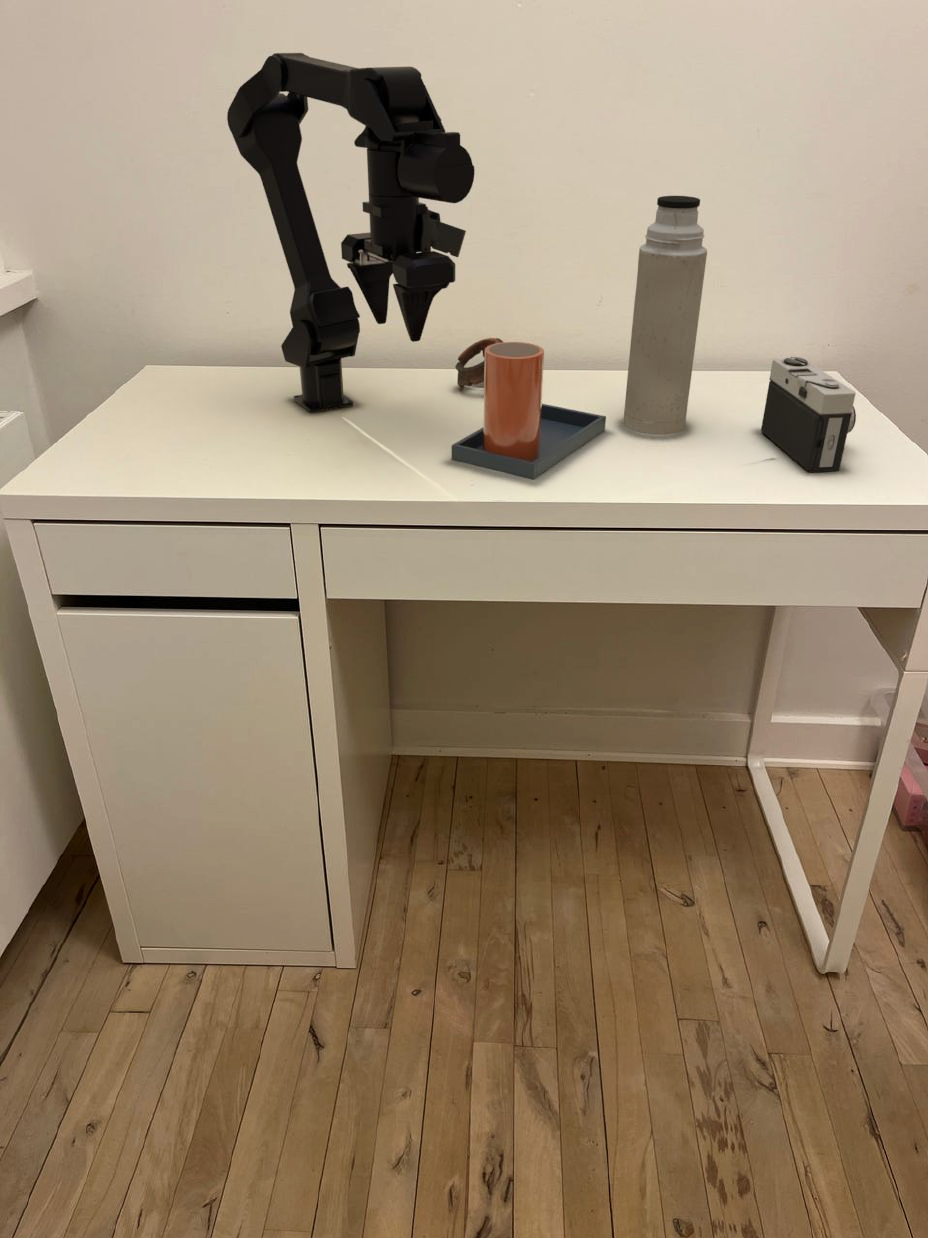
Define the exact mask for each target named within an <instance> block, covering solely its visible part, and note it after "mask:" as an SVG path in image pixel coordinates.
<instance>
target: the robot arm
mask: <svg viewBox="0 0 928 1238" xmlns="http://www.w3.org/2000/svg"><path fill="white" fill-rule="evenodd" d="M284 93H287V94H284ZM308 98H310V99H313V100H316V101H320V102H324V103H327V104H332V105H336V106H339V107H341V108H343V109H345V110H346V112H347V113H348V115H349V117H350V118H352V119H353V120H355V121H357V122H358V123H360V124H362V125H363V126H364V129H363V130H362V132H361V133H360V134H358V135H357V137H356V138H355V140H354V141H353V143H354V147H356V148H364V149H366V163H367V164H366V165H367V166H366V167H367V187H368V201H362V202H361V203H362V212H363V213H366V214H368V215H369V232H360V233H349V234H346V236H345V237H344V238H343V240H342V241H341V243H340V248H341V249H340V251H341V259H342V260H344V261H346V262H347V263H346V266H347V268H348V269H349V270H350V272H351V274H352V276H353V278H354V279H355V282H356V283H357V285H358V287H359V289H360V291H361V293H362V295H363V297H364V298H365V301H366V303H367V305H368V307H369V309H370V311H371V314H372V315H373V318H374V320H375V322H376V324H377V325H384V324H386V323H387V319H388V310H389V295H390V294H389V293H390V279H391V277H392V275H393V278H394V280H395V283H393V284H392V286H393V290H394V293H395V296H396V300H397V303H398V306H399V309H400V312H401V316H402V319H403V323H404V326H405V328H406V331H407V334H408V337H409V340H410V341H411V342H413V343H415V342H420V341H421V339H422V335H423V332H424V328H425V325H426V321H427V318H428V314H429V312H430V308H431V306H432V303H433V300H434V298H435V297H436V296H437V295H438V293H440V292H441V291H442V290H445V289H447V288H448V287H449V285H450V283H455V282H456V263H455V262H454V260H453V259H452V258H451V257H450V256H452V257H455V258H459V257H460V253H461V249H462V247H463V242H464V239H465V236H466V231H467V230H465V229H463V228H460V227H456V226H454V225H450V224H449V223H448V224H447V223H445V222H443V221H441V215H440V213H439V212H436V211H433V210H430V209H429V207H428V206H427V204H426V203H423V202H420V199H423V200H429V201H436V202H442V203H450V204H459V203H460V202H463V200H465V199H466V198H467V196H468V195H469V193H470V192H471V189H472V188H473V184H474V181H475V173H476V172H475V165H474V164H473V161H472V157H471V155H470V153H469V151H468V150H467V149H466V148H465V147H463V146H462V145H461V133H460V132H458V131H446V129H445V126H444V125H443V122H442V119H441V117H440V115H439V114H438V112H437V109H436V107H435V105H434V103H433V100H432V97H431V96H430V94H429V91H428V88H427V86H426V85H425V83H424V81H423V78H422V73H421V72H420V70H418V69H417V68H416V67H415V66H383V67H381V66H380V67H375V66H374V67H356V66H350V65H346V64H342V63H339V62H338V63H337V62H333V61H329V60H325V59H321V58H316V57H311V56H309V55H307V54H305V53H303V52H276V53H273V54H271V55H268V56H267V58H266V59H265V61H264V63H263V65H262V67H261V69H260V70H258V71H257V72H256V73H255V74H254V75H252V77H250V78H249V79H248V80H247V81H245V82H244V83H243V84H241V85H240V87H239V88H238V90H237V91H236V93H235V96H234V98H232V101H231V103H230V105H229V107H228V109H227V114H226V119H227V120H226V121H227V125H228V128H229V131H230V132H231V135H232V137H233V140H234V142H235V145H236V147H237V149H238V152H239V154H240V156H241V158H243V159H244V160H245V161H246V163H248V164H249V165H250V166H251V167H252V168H253V170H254V171H255V172H256V173H257V174H258V175H259V178H260V180H261V183H262V187H263V190H264V193H265V196H266V199H267V203H268V206H269V209H270V213H271V216H272V219H273V222H274V226H275V229H276V232H277V235H278V238H279V242H280V245H281V249H282V252H283V255H284V258H285V261H286V264H287V268H288V271H289V274H290V277H291V280H292V284H293V289H294V290H293V291H294V292H293V295H292V300H291V305H290V309H289V315H290V320H291V325H292V328H291V329H290V331H289V332H288V334H287V335H286V337H285V339H284V340H283V342H282V343H281V346H280V347H281V352H282V354H283V359H284V361H285V362H286V363H289V364H292V365H294V366H297V367H299V375H300V388H301V394H297V395H293V401H295V402H296V403H297V404H299V405H300V406H301V407H303V408H304V409H305V410H306V411H308V412H309V413H315V412H322V411H326V410H333V409H338V408H344V407H349V406H353V405H354V401H353V400H352V399H351V398H349V397H348V396H346V395H345V394H344V377H343V365H342V364H343V363H342V361H343V360H342V359H345V358H349V357H355V355H356V352H357V351H356V350H357V346H358V340H359V336H360V333H361V326H360V320H359V318H361V315H360V312H359V311H358V310H357V307H356V304H355V300H354V295H353V292H352V290H351V289H350V287H349V286H343V287H341V286H340V285H339V284H338V283H337V282H336V281H335V280H334V279H333V278H332V275H331V273H330V269H329V267H328V262H327V260H326V256H325V252H324V249H323V246H322V242H321V239H320V236H319V233H318V229H317V226H316V222H315V219H314V216H313V212H312V209H311V206H310V202H309V200H308V196H307V192H306V188H305V186H304V182H303V179H302V176H301V172H300V169H299V165H298V161H299V156H300V151H301V146H302V142H303V135H302V131H301V126H300V125H301V123H302V122H303V120H304V119H305V117H306V115H307V113H308V112H309V101H308V100H309V99H308ZM437 251H439V252H437ZM440 252H442V253H440ZM443 253H444V254H443ZM446 254H450V256H449V255H446Z"/></svg>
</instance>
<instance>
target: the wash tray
mask: <svg viewBox="0 0 928 1238" xmlns="http://www.w3.org/2000/svg"><path fill="white" fill-rule="evenodd" d="M606 423H607V416H606V415H601V414H596V413H590V412H585V411H581V410H576V409H572V408H571V409H570V408H566V407H562V406H556V405H551V404H547V403H546V404H545V403H542V409H541V431H540V452H539V458H538V459H536V460H535V461H533V462H530V461H525V460H521V459H517V458H513V457H508V456H504V455H500V454H495V453H491V452H487V451H483V428H484V426H483V427H481V428H479V429H477V430H475V431H474V432H472V433H470V434H469V435H467V436H465V437H463V438H461V439H460V440H458V441H456V442H455V443H453V444H452V445H451V461H453V462H454V461H456V462H458V463H463V464H467V465H471V466H475V467H480V468H482V469H483V468H484V469H488V470H492V471H496V472H500V473H504V474H507V475H512V476H515V477H516V476H517V477H521V478H525V479H528V480H535V479H537V478H538V477H540V476H541V475H543V474H544V473H545V472H547V471H549V470H550V469H551V468H554V466H556V465H557V464H559V463H560V462H561V461H563V460H565V459H566V458H567V457H568V456H570V455H572V454H573V453H574V452H576V451H577V450H579V449H580V448H581V447H583V446H585V445H586V444H588V443H589V442H590V441H592V440H593V439H594V438H596V437H597V436H599V435H600V434H602V433H603V432H604V431H606Z"/></svg>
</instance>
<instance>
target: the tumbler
mask: <svg viewBox="0 0 928 1238" xmlns="http://www.w3.org/2000/svg"><path fill="white" fill-rule="evenodd" d="M484 360H485V362H484V382H483V427H484V428H483V427H482V428H483V451H487V452H491V453H495V454H500V455H504V456H508V457H513V458H517V459H521V460H525V461H530V462H533V461H535V460H536V459H538V458H539V452H540V431H541V409H542V404H543V384H544V367H545V366H544V365H545V349H544V348H543V347H542V346H540V345H538V344H534V343H530V342H525V341H524V342H523V341H503V342H502V343H496V344H492V345H489V346H487V347H486V348H485V358H484Z"/></svg>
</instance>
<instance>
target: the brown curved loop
mask: <svg viewBox="0 0 928 1238" xmlns="http://www.w3.org/2000/svg"><path fill="white" fill-rule="evenodd" d="M502 342H504V341H503V340H502V339H500V338H499V337H496V338H494V337H489V338H484V339H480V340H478V341H476V342H474V343H473V344H470V345H469V346H468V347H467V348H466V349H465V350H463V352H462V353H461V354H460V355H459V356H458V358H457V360H458V362H457V363H456V364H455V366H454V367H455V368H454V369H455V370H456V371H457V385H458V387H459V389H460V390H464V388H465V387H471V386H472V385H474V386H475V385H476V386H477V385H479V384H481V383H484V362H485V348H486V347H487V346H489V345H492V344H496V343H502ZM481 353H482V357H483V358H484V360H483V361H481V362H479V363H478V364H475V365H472V366H467V367H465V366H466V365H467V364H468V362H469V361H471V360H472V359H473V358H474V357H475V356H477V355H479V354H481Z"/></svg>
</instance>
